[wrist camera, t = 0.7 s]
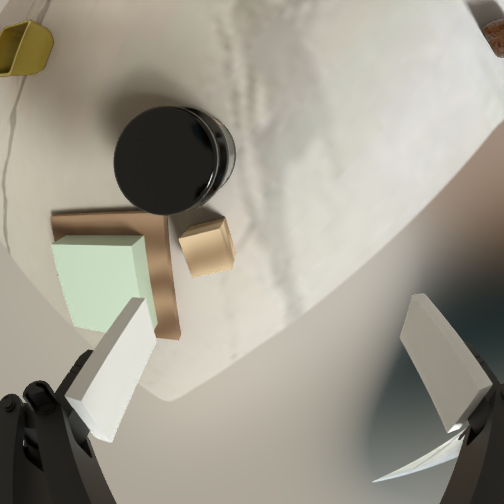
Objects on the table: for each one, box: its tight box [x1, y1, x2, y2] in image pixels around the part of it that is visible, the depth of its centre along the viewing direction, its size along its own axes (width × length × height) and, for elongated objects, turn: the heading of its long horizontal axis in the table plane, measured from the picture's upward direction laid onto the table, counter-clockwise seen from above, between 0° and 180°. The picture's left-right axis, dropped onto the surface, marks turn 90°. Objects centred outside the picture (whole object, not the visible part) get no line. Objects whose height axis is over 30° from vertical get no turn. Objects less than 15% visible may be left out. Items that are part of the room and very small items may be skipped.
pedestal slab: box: [51, 235, 158, 332], centre depth 36 cm, size 14×14×4 cm
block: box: [179, 217, 236, 277], centre depth 34 cm, size 5×5×5 cm
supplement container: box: [114, 105, 236, 216], centre depth 27 cm, size 10×10×12 cm
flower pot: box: [0, 20, 54, 77], centre depth 21 cm, size 9×9×9 cm
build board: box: [51, 211, 181, 340], centre depth 38 cm, size 20×20×2 cm
